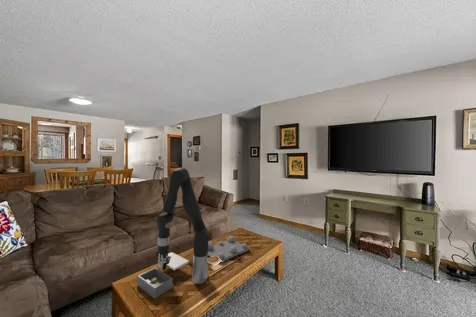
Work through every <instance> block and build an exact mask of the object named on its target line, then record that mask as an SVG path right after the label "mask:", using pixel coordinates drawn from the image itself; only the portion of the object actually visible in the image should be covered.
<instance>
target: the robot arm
mask: <svg viewBox="0 0 476 317" xmlns="http://www.w3.org/2000/svg"><path fill="white" fill-rule="evenodd" d="M179 189H181V194H182V195H181V200H182V201H181V202H182V207H183V209H184V212H185V214H186V216H187V218H188V219H189V221H190V223H191V226H192V228H193V233H194V235H193V251H192V252H193V253H192V254H193V257H192V277H191V278H192V279H191V280H192V283H194V284H196V285H201V284H204V283H205V282H206V281H207V279H209V276H208V275H209V263H208V257H209V256H208V243H209V242H210V241H209V238H210V237H209V230H208V229H207V227H206V224H205V222H204V221H203V218H202V217H203V216H202V212H201V209H200V205H199V203H198V202H199V201H198V200H197V197H196V195H195V192H194V188H193V185H192V181H191V176H190V172H189V171H188V170H187V168H185V167H179V168H175V169H174V170H173V171H172V172H171V174H170V179H169V185H168V191H167V194H166V197H165V200H164V203H163V206H162V207H163V208H162V210H163V211H164V213H160V214H158V215H157V216H156V225H157V226H156V227H157V229H158V236H157V237H158V238H157V246H156V247H157V248H156V251H155V256H156V261H157V262H158V263H159V262H161V261H162V262H163V268H162V272H164V271H166V270H167V266H166V265H167V264H169V262H170V259H171V256H168V254H169V251H170V246H171V245H170V241H171V240H170V239H171V238H170V236H171V234H170V233H171V228H170V227H169V226H166V225H167V224H170V223H171V222H172V221H173V219H174V215H175V213H174V212H175V209H176V205H177V202H178V192H179ZM164 261H165V263H164Z"/></svg>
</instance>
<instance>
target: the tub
mask: <svg viewBox="0 0 476 317" xmlns="http://www.w3.org/2000/svg"><path fill="white" fill-rule="evenodd" d="M136 280H137V281H136V282H137V283H136V285H137V287H139V288H140V289H141V290H142V291H143V292H145V293H146V294H147V295H149V296H150V297H152V298H153V299H154V300H155V299H157V298H158V297H159V296H161V295H163V294H164V293H167V292H168V291H169V290H171V289H172V288H173V280H174V278H173V277H172V276H170V275H168V273H165V272H164V271H163V270H160V268H157V267H156V266H155V267H153V268H152V269H149V270H147V271H145V272H143V273H140V274H139V275H137V279H136Z"/></svg>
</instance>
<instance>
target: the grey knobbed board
mask: <svg viewBox="0 0 476 317" xmlns="http://www.w3.org/2000/svg"><path fill="white" fill-rule="evenodd" d="M235 239H236V237H234V236H233V235H228V237H227V240H224V241H223V240H220V241H219V242H218V243H215V242H214V243H213V241H212V240H210V241H209V243H208V257H209V256H213V255H216V256H218V257H220V258H221V260H222V261H224V262H226V261H228V260H227V259H229V260H230V258H231V259H233V258H235V257H237V255H238V256H239V254H240V255H242V254H244V253H246V251H247V252H249V251H250V250H251V249H250V247H248V244H247V243H246V242H243V243H240V242H238V241H237V240H235ZM248 250H249V251H248ZM234 256H235V257H234ZM232 257H233V258H232ZM225 260H226V261H225Z"/></svg>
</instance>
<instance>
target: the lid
mask: <svg viewBox="0 0 476 317" xmlns="http://www.w3.org/2000/svg"><path fill="white" fill-rule="evenodd" d="M168 256H171V259H170V262H169V264H167V265H166V268H169V269H171V270H173V271H177V269H179V268H181V267H184V266H185V265H187V264H189V263H190V260H188V259H186V258H184V257H183V256H180V255H178V254H176V253H175V252H168ZM164 263H165V261H164ZM157 267H158V269H161V270H163V262H162V261H161V262H158V264H157Z"/></svg>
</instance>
